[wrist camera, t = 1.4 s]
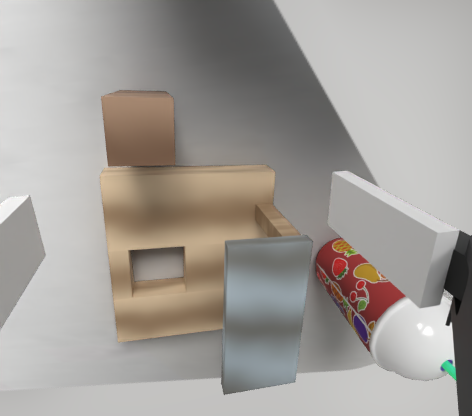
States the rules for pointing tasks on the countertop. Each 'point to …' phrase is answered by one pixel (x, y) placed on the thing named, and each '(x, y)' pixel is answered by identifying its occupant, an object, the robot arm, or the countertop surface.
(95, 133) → the countertop surface
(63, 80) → the countertop surface
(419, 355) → the smoothie
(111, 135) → the peg
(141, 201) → the socket board
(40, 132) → the countertop surface
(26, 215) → the robot arm
